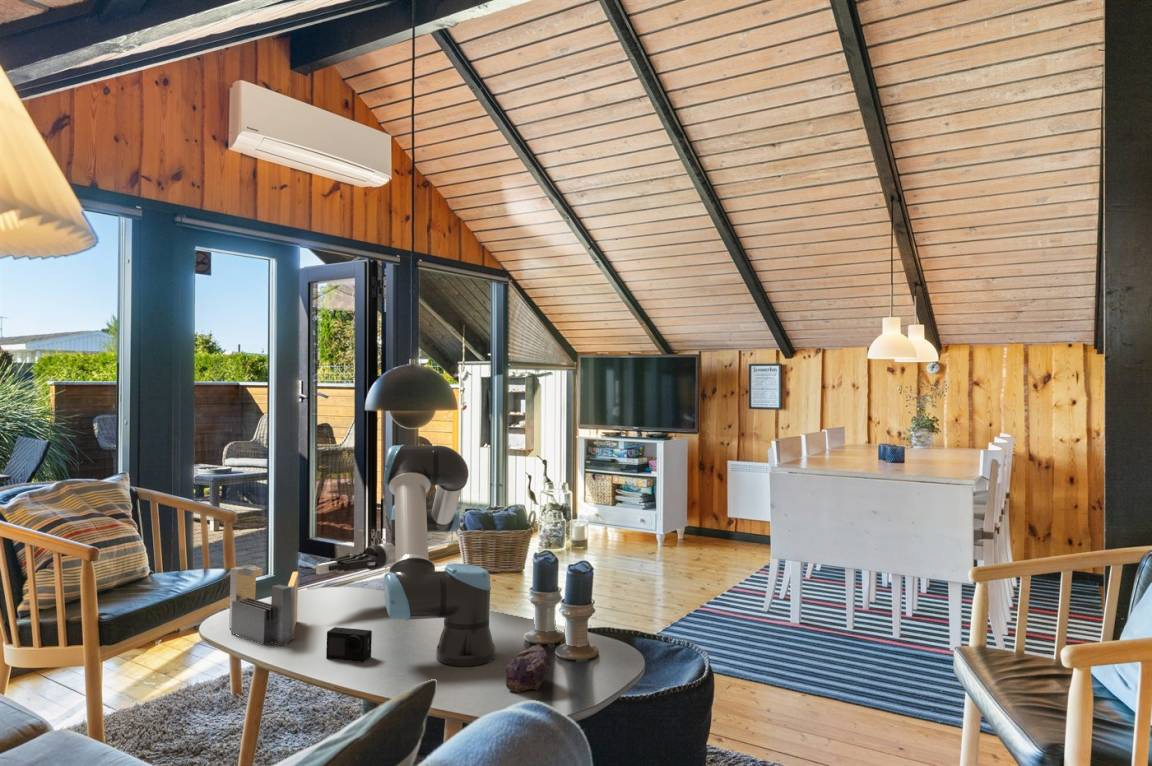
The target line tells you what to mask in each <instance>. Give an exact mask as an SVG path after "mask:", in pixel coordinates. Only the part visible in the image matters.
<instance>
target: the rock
mask: <svg viewBox="0 0 1152 766" xmlns="http://www.w3.org/2000/svg"><path fill="white" fill-rule="evenodd" d="M551 665H552V663H551V659H550V657H549V655H548V653H547V651H546V649H545V648H544V647H543V646H541V645H540V644H537V645H533V646H532V647H530V648H528V649H526V650H524V651H521V652H519V653H518V654H517V655H515V657H514V658H512V660H511V661H510V663H509V664H507V666H505V686H506V688H507V690H509V691H510V692H513V693H517V692H518V693H521V692H520V691H522V692H525V691H528V690H535V689H536V690H538V689H539V688H540V687H541V685H542V683H543V682H544V681H545V680H546V675H547V673H548V671H549V669H550V668H551ZM540 684H541V685H540ZM539 686H540V687H539ZM538 687H539V688H538ZM537 688H538V689H537ZM527 689H528V690H527Z"/></svg>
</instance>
